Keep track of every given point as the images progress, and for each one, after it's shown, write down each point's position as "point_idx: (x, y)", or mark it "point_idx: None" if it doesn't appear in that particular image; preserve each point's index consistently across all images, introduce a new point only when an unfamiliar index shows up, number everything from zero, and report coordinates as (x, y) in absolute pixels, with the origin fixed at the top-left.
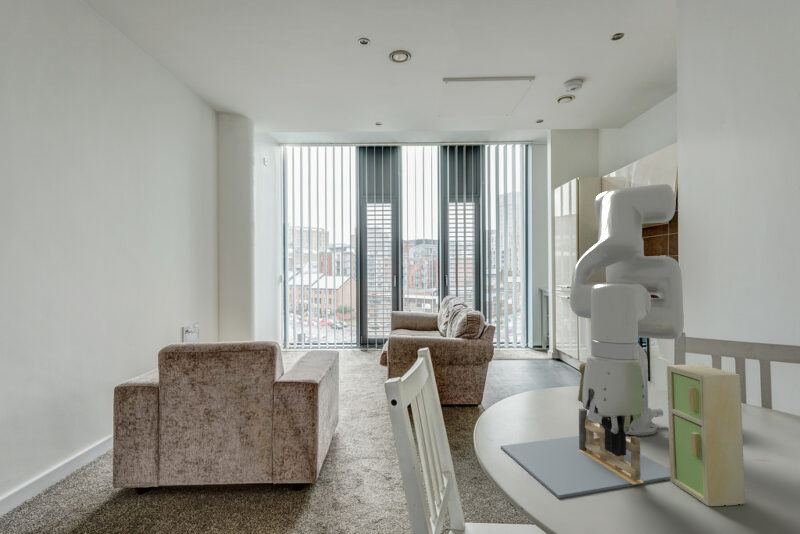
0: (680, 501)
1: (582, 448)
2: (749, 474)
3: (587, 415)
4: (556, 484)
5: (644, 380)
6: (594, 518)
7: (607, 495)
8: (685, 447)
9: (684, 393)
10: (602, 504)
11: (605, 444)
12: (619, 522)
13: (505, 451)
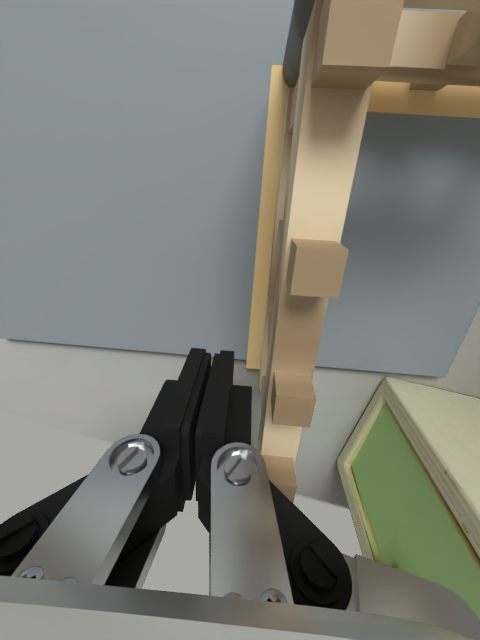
0: (301, 431)
1: (285, 79)
2: None
3: None
4: (14, 293)
5: None
6: (59, 408)
7: (147, 363)
8: (429, 557)
9: None
10: (108, 383)
11: (164, 385)
12: (104, 430)
13: None
